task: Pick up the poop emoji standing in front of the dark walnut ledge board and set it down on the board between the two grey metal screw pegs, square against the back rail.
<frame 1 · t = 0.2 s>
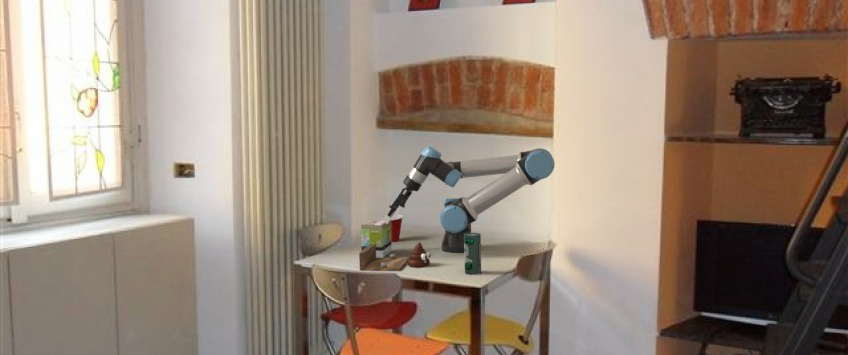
hand: (388, 220, 322), 15 cm above the table, tool tilted 35°, fingers open, 13 cm apart
can: (473, 273, 286), on the table
tea box: (377, 255, 324), on the table
plastic cup: (392, 241, 357), on the table
ledge: (385, 265, 303), on the table
poop emoji: (419, 265, 302), on the table
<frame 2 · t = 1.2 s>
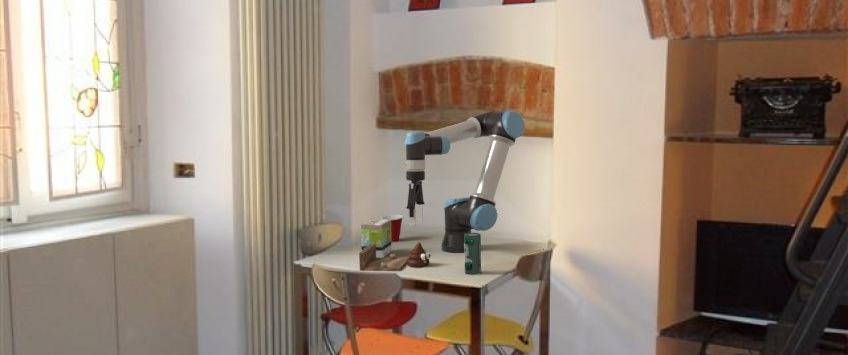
hand: (415, 222, 301), 17 cm above the table, tool pointing down, fingers open, 13 cm apart
nothing on the table moved.
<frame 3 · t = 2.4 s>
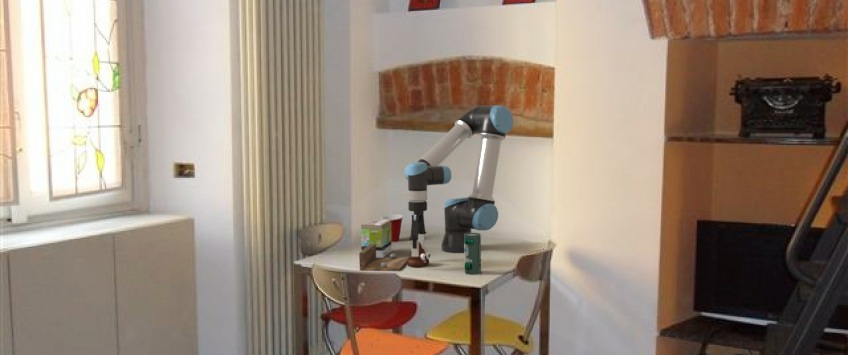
hand: (418, 253, 301), 5 cm above the table, tool pointing down, fingers open, 13 cm apart
nothing on the table moved.
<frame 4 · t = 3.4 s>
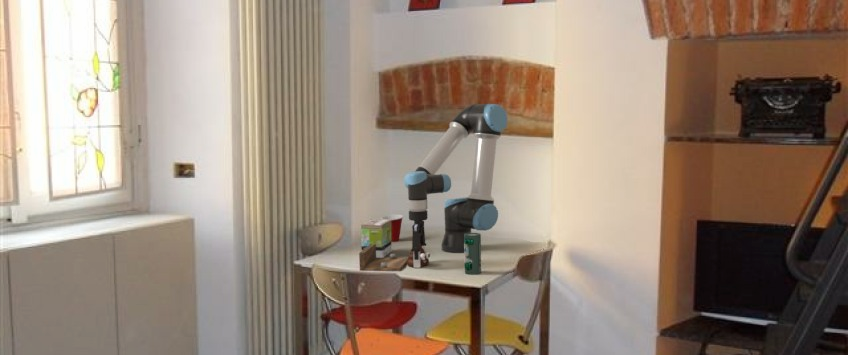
hand: (419, 264, 302), 0 cm above the table, tool pointing down, fingers closed on poop emoji, 10 cm apart
poop emoji: (418, 265, 302), on the table, touching gripper
everything else where it was.
when the fingers open (3 cm above the table, at t = 8.3 s): poop emoji drops 2 cm, resting on ledge.
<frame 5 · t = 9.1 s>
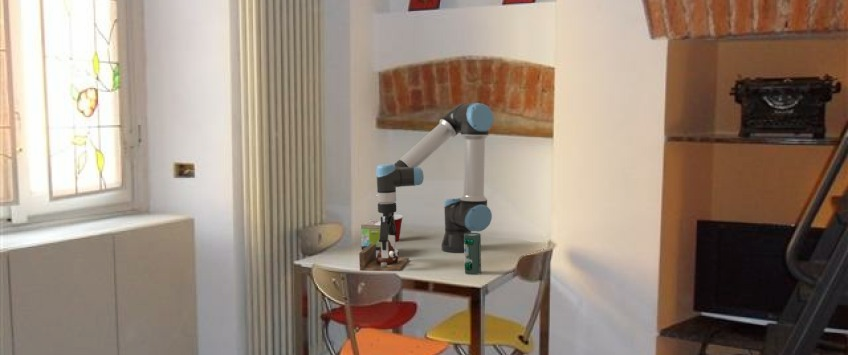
hand: (388, 254, 303), 4 cm above the table, tool pointing down, fingers open, 13 cm apart
poop emoji: (387, 263, 303), point 1 cm above the table, touching ledge
everything else where it was.
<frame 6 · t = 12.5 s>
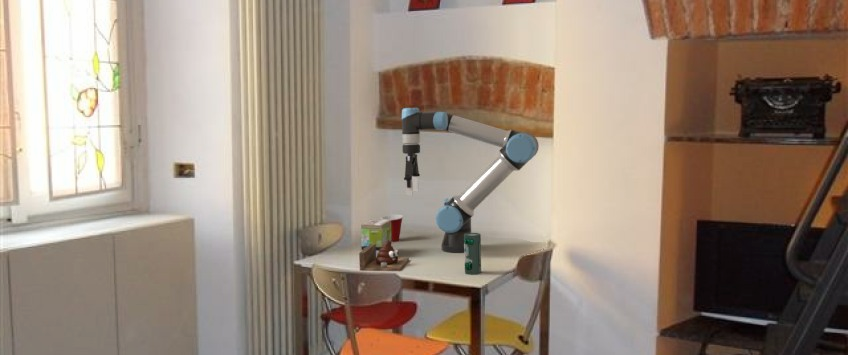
hand: (412, 193, 321), 27 cm above the table, tool pointing down, fingers open, 13 cm apart
nothing on the table moved.
at the end: poop emoji inside the target area on the ledge (0.5 cm from its centre), point 0.8 cm above the ledge's base; poop emoji tilted 0°; the gripper is holding nothing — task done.
